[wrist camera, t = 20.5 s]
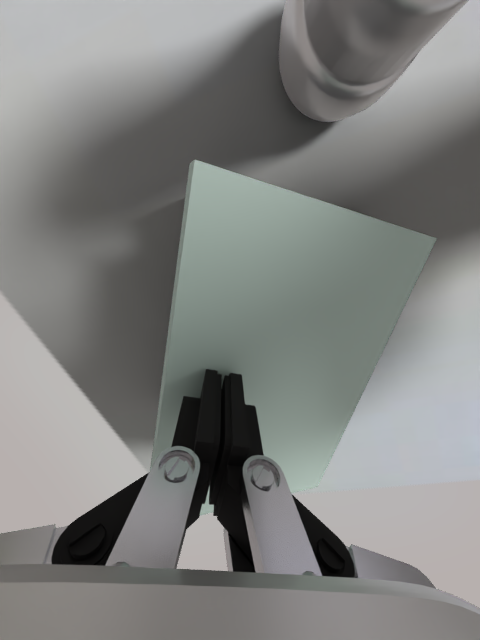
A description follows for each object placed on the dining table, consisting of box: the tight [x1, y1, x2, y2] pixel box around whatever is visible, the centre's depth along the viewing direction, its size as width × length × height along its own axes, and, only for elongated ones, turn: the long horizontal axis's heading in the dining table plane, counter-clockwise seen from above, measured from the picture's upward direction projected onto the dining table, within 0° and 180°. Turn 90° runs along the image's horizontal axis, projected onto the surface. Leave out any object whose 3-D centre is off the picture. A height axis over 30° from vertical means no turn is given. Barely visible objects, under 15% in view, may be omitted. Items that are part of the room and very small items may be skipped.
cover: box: [150, 160, 437, 516], centre depth 13 cm, size 18×12×1 cm, turn 167°
